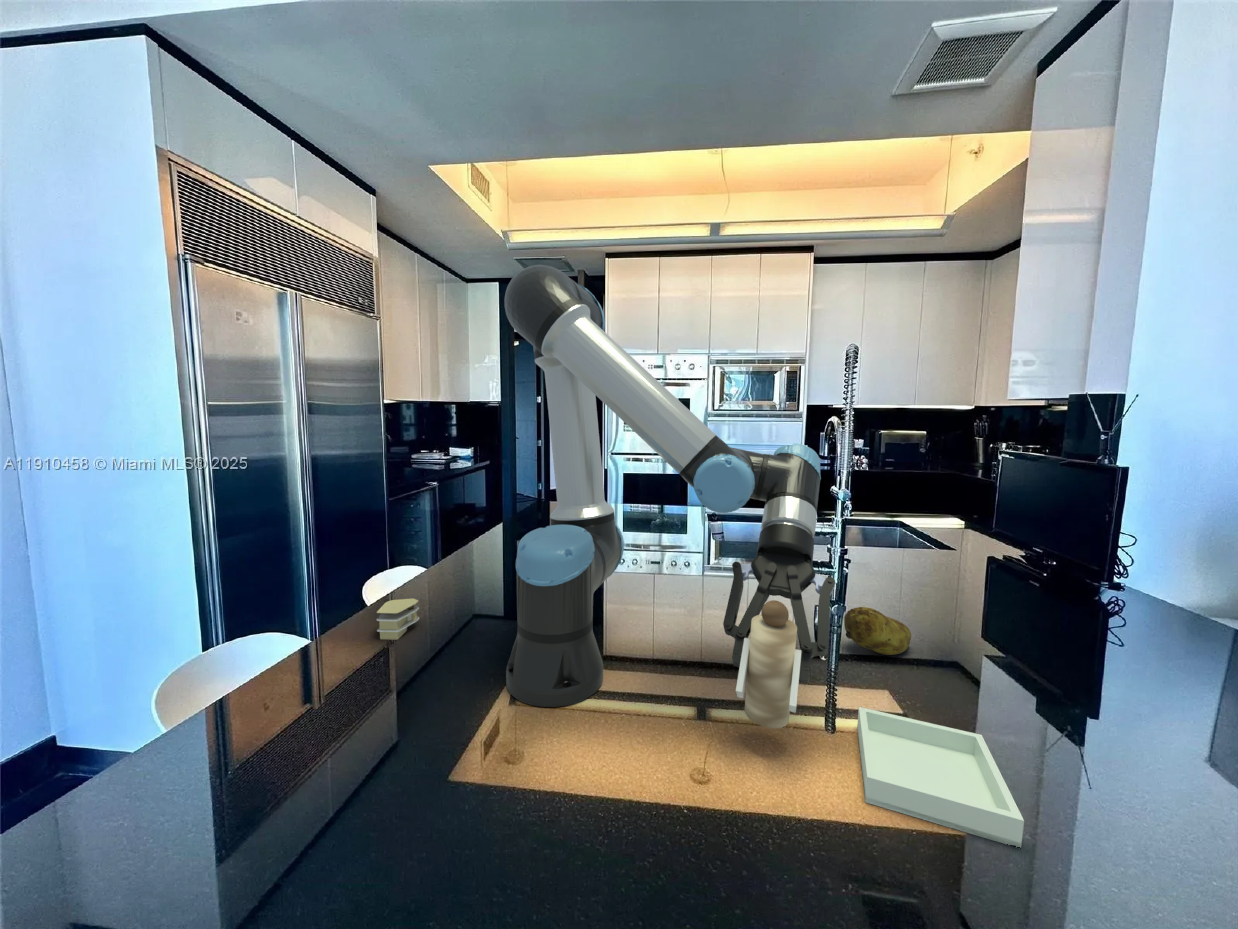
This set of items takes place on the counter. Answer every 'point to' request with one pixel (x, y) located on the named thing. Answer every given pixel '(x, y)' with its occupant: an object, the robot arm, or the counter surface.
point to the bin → (936, 776)
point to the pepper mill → (770, 666)
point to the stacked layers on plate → (396, 618)
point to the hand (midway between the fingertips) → (765, 701)
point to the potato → (876, 631)
